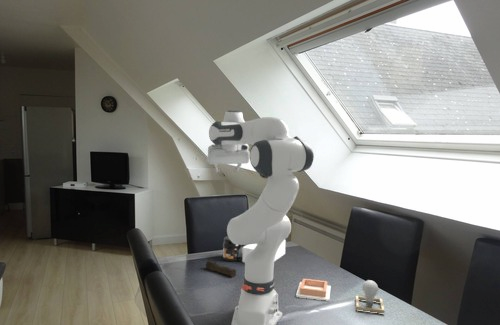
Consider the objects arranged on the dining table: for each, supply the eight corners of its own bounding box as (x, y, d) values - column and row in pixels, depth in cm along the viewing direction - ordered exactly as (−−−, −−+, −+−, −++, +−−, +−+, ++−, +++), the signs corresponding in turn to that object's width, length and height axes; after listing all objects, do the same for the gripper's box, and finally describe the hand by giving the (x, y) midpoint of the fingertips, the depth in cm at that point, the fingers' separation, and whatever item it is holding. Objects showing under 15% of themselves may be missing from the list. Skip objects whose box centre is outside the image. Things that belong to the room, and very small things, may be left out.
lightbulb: (364, 302, 147) (365, 276, 146) (379, 306, 143) (380, 280, 143) (359, 307, 143) (360, 281, 142) (374, 312, 139) (375, 285, 138)
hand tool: (236, 276, 173) (236, 267, 173) (231, 278, 170) (231, 269, 170) (209, 267, 185) (209, 258, 185) (204, 269, 182) (204, 260, 182)
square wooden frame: (384, 315, 137) (384, 310, 136) (356, 311, 139) (356, 306, 139) (381, 303, 147) (382, 298, 146) (355, 299, 149) (355, 295, 149)
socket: (329, 301, 147) (329, 293, 147) (295, 297, 151) (295, 289, 151) (330, 287, 161) (330, 280, 160) (300, 284, 164) (300, 276, 164)
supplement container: (218, 259, 196) (219, 238, 195) (230, 254, 205) (230, 234, 204) (233, 263, 190) (234, 241, 189) (245, 258, 199) (245, 237, 198)
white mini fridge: (242, 262, 192) (242, 243, 192) (263, 250, 214) (263, 232, 213) (265, 267, 185) (266, 247, 184) (285, 254, 207) (285, 236, 206)
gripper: (210, 146, 156) (207, 175, 161) (252, 146, 164) (248, 173, 169) (206, 142, 161) (204, 170, 166) (247, 142, 169) (243, 168, 174)
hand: (226, 171), depth 167 cm, fingers open, 8 cm apart
